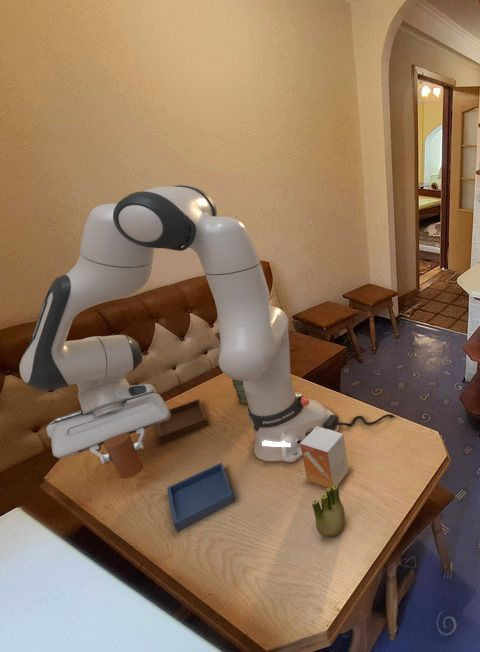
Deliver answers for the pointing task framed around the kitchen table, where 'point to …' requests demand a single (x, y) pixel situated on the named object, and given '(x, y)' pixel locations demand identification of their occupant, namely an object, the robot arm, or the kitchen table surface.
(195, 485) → the blue tray
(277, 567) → the kitchen table surface
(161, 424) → the walnut tray
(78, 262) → the robot arm
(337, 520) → the fennel bulb
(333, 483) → the small box
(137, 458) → the spice tin
